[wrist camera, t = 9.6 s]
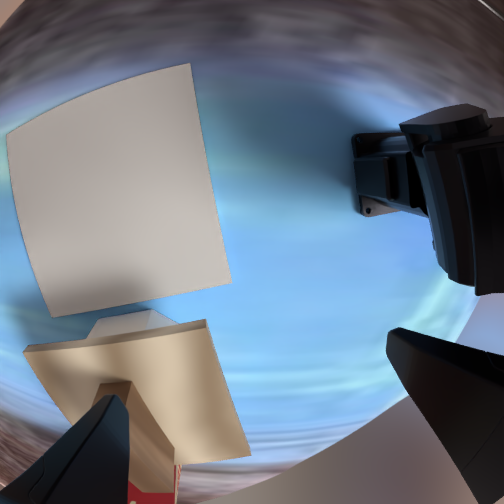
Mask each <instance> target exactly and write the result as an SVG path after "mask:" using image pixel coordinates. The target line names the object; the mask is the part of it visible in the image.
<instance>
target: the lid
mask: <svg viewBox="0 0 504 504" xmlns="http://www.w3.org/2000/svg"><path fill="white" fill-rule="evenodd" d="M23 354H24V356H25V358H26V359H27V361H28V363H29V365H30V366H31V368H32V370H33V371H34V373H35V374H36V376H37V378H38V379H39V381H40V382H41V384H42V385H43V387H44V388H45V390H46V391H47V393H48V394H49V396H50V397H51V398H52V400H53V401H54V403H55V404H56V405H57V407H58V408H59V409H60V411H61V412H62V413H63V414H64V416H65V417H66V418H67V420H68V421H69V422H70V423H71V425H72V426H73V425H74V424H75V423H76V422H77V421H78V420H79V419H80V418H81V417H82V416H83V415H84V414H85V413H86V412H88V411H89V410H90V409H91V408H92V407H93V406H94V405H95V404H96V403H97V402H98V401H99V400H100V399H101V398H102V397H103V396H104V395H106V394H117V395H118V396H119V397H120V399H121V401H122V402H123V404H124V405H125V407H126V408H127V410H128V412H129V431H130V462H129V479H128V480H129V481H130V482H131V483H132V484H134V485H135V486H136V487H137V488H138V489H139V490H141V491H142V492H147V493H174V465H183V464H195V463H205V462H213V461H221V460H228V459H234V458H240V457H245V456H251V451H250V447H249V444H248V441H247V439H246V436H245V434H244V431H243V428H242V426H241V423H240V420H239V418H238V415H237V412H236V409H235V407H234V404H233V401H232V398H231V395H230V392H229V390H228V387H227V384H226V381H225V378H224V375H223V372H222V369H221V366H220V363H219V360H218V356H217V353H216V350H215V347H214V344H213V341H212V337H211V334H210V331H209V327H208V324H207V321H206V319H202V320H197V321H192V322H187V323H182V324H177V325H171V326H166V327H160V328H155V329H149V330H143V331H137V332H131V333H124V334H118V335H111V336H104V337H97V338H89V339H82V340H74V341H65V342H56V343H46V344H36V345H28V346H27V348H26V349H25V350H24V351H23Z"/></svg>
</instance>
